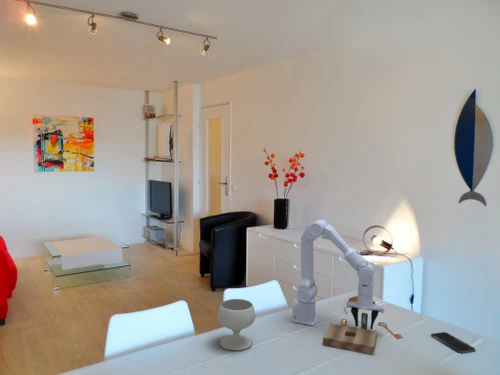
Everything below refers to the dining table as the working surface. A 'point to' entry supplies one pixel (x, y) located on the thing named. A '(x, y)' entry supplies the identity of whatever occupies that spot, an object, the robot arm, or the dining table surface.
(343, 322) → the short pin
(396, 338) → the key
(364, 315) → the long pin
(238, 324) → the chalice
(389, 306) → the dining table surface
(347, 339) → the hole block
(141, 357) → the dining table surface
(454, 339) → the phone
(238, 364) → the dining table surface
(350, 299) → the sunglasses
